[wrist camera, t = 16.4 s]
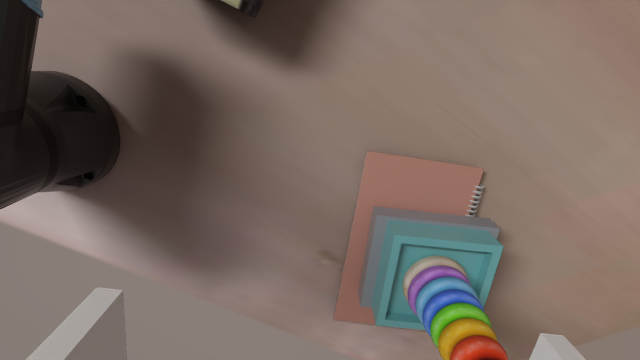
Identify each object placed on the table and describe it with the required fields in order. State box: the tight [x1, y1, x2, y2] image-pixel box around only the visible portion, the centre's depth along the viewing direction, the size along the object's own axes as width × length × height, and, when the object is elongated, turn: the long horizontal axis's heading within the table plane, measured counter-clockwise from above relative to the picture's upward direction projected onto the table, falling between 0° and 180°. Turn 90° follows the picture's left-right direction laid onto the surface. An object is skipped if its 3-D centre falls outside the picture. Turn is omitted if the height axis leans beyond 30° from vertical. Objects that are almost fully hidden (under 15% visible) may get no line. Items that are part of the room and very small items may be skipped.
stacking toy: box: [402, 255, 508, 360], centre depth 34 cm, size 8×8×19 cm
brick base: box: [358, 206, 504, 330], centre depth 45 cm, size 16×14×7 cm
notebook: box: [333, 151, 484, 332], centre depth 50 cm, size 27×17×2 cm, turn 171°
